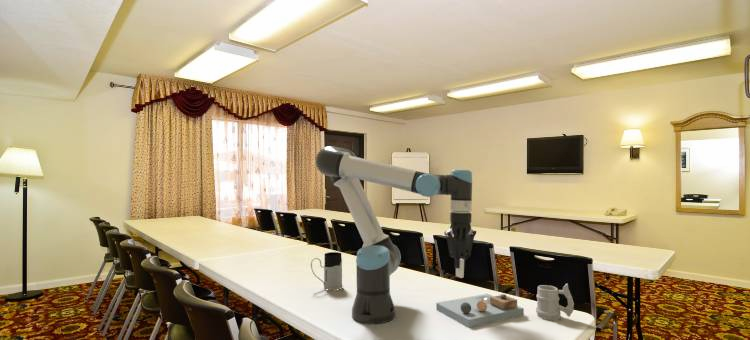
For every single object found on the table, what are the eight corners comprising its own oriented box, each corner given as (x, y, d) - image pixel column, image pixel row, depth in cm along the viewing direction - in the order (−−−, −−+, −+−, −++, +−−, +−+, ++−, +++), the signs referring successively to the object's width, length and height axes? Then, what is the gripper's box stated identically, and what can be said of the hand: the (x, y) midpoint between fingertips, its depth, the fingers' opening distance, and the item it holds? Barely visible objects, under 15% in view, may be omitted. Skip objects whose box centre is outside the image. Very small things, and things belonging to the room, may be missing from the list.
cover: (503, 309, 124) (503, 299, 125) (490, 304, 130) (489, 293, 130) (517, 307, 127) (517, 296, 127) (503, 301, 133) (503, 291, 133)
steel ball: (483, 298, 134) (490, 294, 136) (479, 300, 137) (486, 297, 138) (488, 307, 133) (495, 303, 134) (484, 309, 136) (491, 305, 137)
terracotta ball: (481, 313, 122) (481, 303, 122) (474, 310, 125) (474, 300, 125) (489, 312, 123) (489, 301, 123) (482, 308, 127) (482, 298, 127)
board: (468, 327, 117) (468, 319, 117) (436, 309, 133) (436, 302, 133) (523, 315, 127) (523, 308, 127) (487, 300, 143) (487, 293, 143)
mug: (537, 311, 131) (536, 277, 131) (574, 316, 125) (573, 281, 125) (534, 318, 124) (534, 282, 125) (574, 324, 118) (573, 287, 119)
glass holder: (345, 289, 159) (345, 254, 159) (313, 293, 154) (313, 257, 154) (339, 284, 167) (339, 251, 167) (309, 287, 162) (308, 253, 162)
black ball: (465, 315, 120) (464, 305, 120) (458, 312, 123) (458, 301, 124) (473, 314, 122) (473, 303, 122) (466, 310, 125) (466, 300, 125)
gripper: (452, 213, 127) (451, 281, 127) (481, 212, 132) (480, 277, 132) (440, 211, 134) (438, 275, 133) (468, 210, 139) (467, 272, 139)
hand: (459, 276), depth 133 cm, fingers closed
